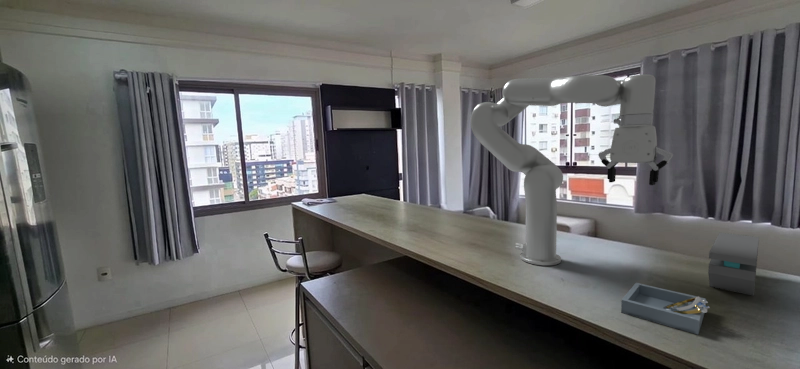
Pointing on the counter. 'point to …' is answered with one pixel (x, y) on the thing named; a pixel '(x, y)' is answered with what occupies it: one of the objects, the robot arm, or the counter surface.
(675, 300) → the tray
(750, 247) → the gray slotted box
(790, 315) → the counter surface
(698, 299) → the bracelet
